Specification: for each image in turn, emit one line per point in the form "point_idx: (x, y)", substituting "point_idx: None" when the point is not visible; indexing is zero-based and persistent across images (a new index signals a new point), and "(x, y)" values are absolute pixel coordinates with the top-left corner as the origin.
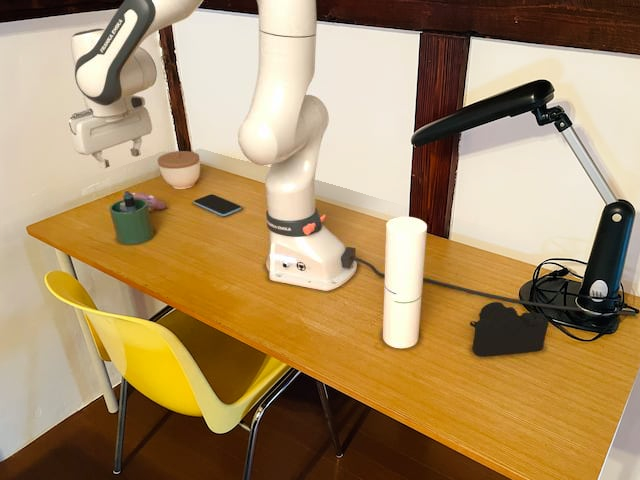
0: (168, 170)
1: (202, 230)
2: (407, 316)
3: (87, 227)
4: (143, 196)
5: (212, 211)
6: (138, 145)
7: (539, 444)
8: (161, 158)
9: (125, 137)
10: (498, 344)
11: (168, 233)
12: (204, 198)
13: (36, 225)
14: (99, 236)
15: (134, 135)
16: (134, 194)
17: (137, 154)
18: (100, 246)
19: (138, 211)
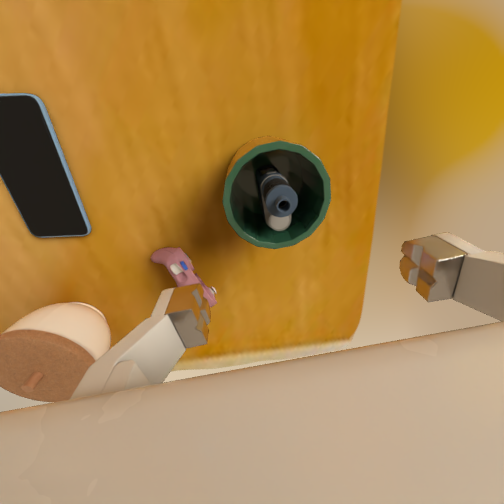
0: (87, 343)
1: (126, 69)
2: None
3: (304, 280)
4: (190, 278)
5: (61, 149)
6: (145, 334)
7: None
8: None
9: (282, 416)
10: None
11: (206, 132)
12: (57, 226)
13: (347, 333)
14: (313, 234)
15: (127, 426)
16: None
17: (186, 288)
18: (337, 193)
19: (278, 141)
